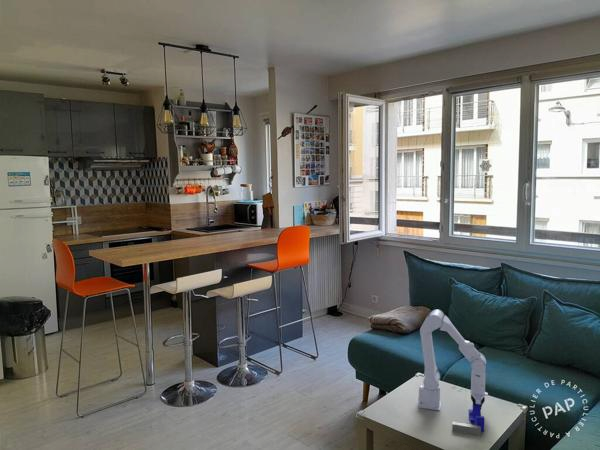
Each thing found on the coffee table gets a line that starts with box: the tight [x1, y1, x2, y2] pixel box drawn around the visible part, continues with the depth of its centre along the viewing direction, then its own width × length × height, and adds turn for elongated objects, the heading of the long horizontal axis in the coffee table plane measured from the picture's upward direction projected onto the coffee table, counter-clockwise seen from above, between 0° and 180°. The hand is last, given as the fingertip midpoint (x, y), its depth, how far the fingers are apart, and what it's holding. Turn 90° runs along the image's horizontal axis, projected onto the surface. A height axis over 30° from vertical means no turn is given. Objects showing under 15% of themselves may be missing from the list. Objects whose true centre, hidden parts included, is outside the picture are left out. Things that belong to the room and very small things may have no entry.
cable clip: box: [468, 402, 485, 433], centre depth 192 cm, size 12×4×6 cm, turn 167°
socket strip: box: [451, 421, 482, 437], centre depth 187 cm, size 11×2×3 cm, turn 70°
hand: (477, 412), depth 200 cm, fingers closed
